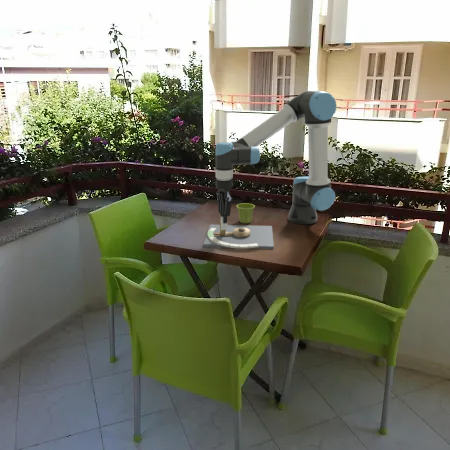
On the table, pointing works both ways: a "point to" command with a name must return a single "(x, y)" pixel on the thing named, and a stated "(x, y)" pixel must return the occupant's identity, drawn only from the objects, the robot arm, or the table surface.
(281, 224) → the table surface
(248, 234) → the dial
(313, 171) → the robot arm
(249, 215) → the plant pot
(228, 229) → the scale board
